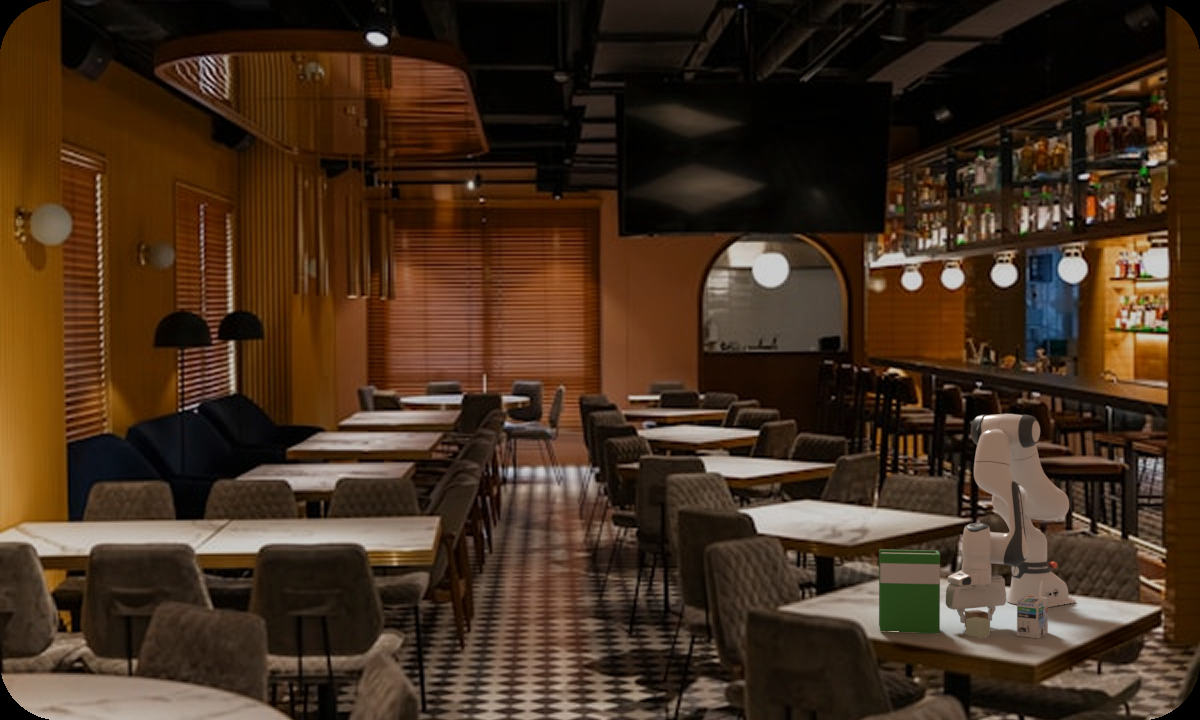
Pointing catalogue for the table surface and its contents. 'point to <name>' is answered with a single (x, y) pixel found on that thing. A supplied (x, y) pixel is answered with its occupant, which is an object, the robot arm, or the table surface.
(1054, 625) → the table surface
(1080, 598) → the table surface
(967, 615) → the walnut cube
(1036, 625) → the light bulb box
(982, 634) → the sage cube
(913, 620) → the green upright box
